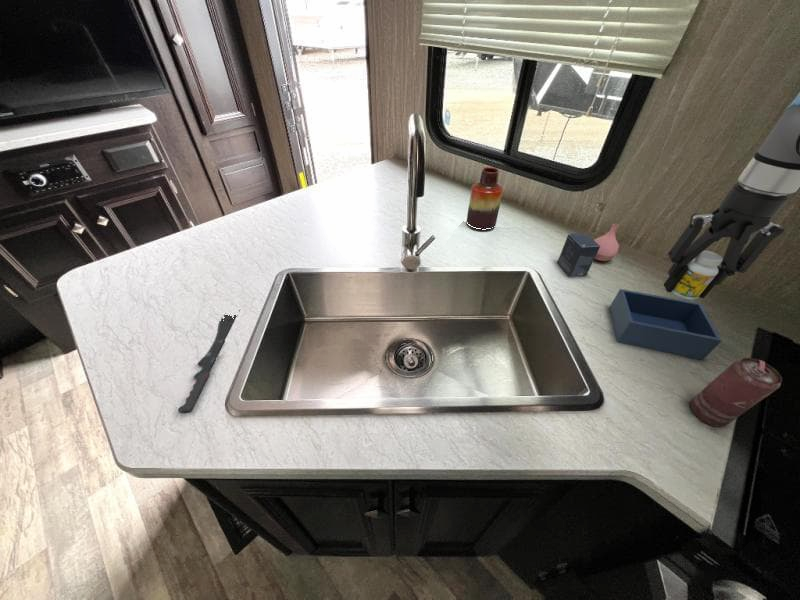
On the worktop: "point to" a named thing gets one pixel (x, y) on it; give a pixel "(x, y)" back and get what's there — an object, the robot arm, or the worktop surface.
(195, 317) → the worktop surface
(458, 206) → the worktop surface
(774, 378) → the can
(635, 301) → the box
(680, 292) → the supplement bottle
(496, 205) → the vase
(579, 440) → the worktop surface
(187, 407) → the knife
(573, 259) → the box
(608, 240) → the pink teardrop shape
